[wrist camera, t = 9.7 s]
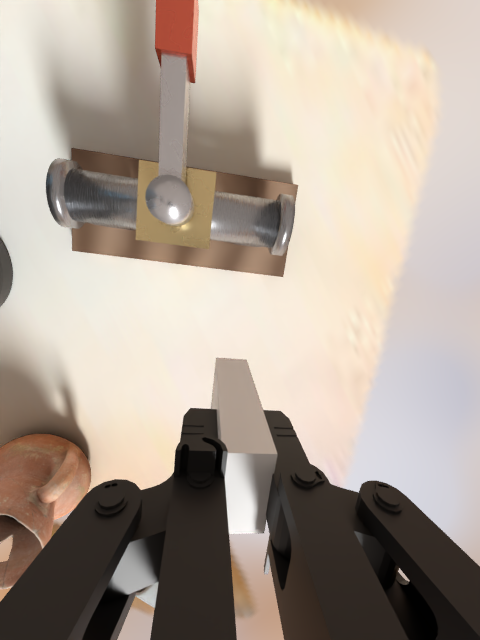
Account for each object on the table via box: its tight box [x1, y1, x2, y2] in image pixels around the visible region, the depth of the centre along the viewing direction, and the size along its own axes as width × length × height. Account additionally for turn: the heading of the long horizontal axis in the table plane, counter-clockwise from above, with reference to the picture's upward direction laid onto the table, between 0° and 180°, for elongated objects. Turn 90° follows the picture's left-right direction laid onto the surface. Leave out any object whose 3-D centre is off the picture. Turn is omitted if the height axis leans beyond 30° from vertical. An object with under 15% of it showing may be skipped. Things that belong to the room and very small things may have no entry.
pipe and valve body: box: [46, 158, 295, 256], centre depth 32 cm, size 23×7×10 cm, turn 82°
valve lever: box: [145, 0, 199, 226], centre depth 23 cm, size 17×4×4 cm, turn 174°
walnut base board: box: [71, 148, 298, 277], centre depth 38 cm, size 28×12×2 cm, turn 82°
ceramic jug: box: [0, 434, 91, 589], centre depth 40 cm, size 18×14×14 cm
